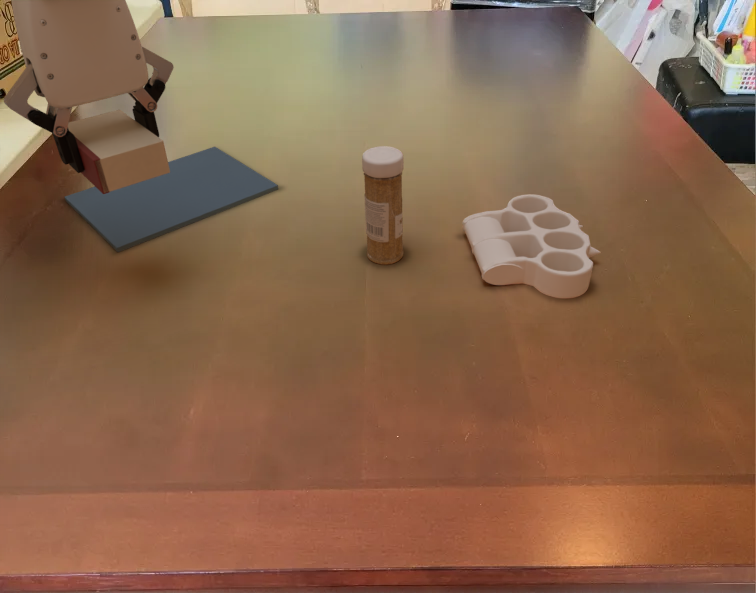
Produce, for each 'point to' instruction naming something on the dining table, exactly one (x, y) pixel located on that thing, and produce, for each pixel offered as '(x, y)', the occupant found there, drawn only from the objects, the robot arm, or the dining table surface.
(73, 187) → the dining table surface
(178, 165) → the mat
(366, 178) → the sprinkles bottle
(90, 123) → the book
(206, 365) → the dining table surface
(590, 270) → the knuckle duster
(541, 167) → the dining table surface
